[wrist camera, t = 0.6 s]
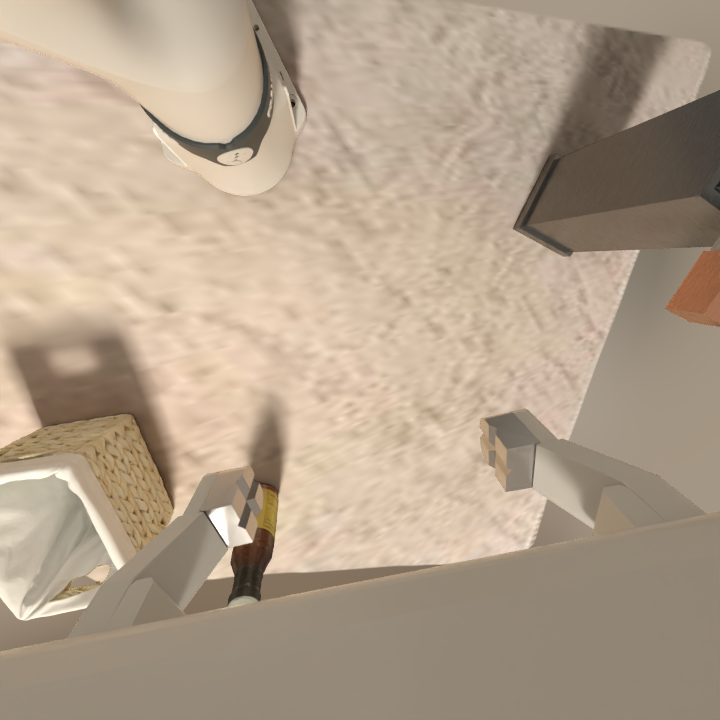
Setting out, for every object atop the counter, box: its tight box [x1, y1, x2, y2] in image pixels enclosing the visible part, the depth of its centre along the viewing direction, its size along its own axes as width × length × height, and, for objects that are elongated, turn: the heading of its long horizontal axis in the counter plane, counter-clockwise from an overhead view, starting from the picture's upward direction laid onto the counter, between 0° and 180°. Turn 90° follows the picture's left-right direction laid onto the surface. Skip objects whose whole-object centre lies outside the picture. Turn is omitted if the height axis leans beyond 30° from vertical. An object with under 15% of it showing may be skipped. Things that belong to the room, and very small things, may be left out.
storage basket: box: [0, 414, 173, 620], centre depth 44 cm, size 24×16×15 cm
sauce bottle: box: [227, 484, 278, 607], centre depth 47 cm, size 6×6×20 cm
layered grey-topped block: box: [665, 181, 720, 327], centre depth 34 cm, size 18×8×24 cm, turn 158°
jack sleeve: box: [513, 90, 720, 256], centre depth 36 cm, size 11×11×24 cm
